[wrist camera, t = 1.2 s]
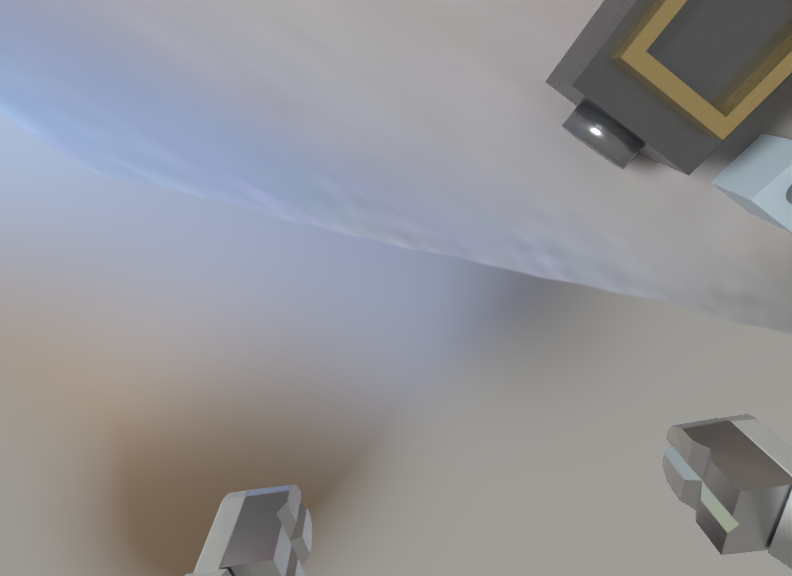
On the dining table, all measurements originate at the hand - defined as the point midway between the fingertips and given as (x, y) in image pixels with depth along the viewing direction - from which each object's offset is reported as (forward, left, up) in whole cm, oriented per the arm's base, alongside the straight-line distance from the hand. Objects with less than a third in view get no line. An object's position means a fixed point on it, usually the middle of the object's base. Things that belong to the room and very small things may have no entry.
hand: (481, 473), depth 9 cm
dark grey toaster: (-17, +8, -33) cm, 38 cm away
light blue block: (-14, +23, -33) cm, 43 cm away
